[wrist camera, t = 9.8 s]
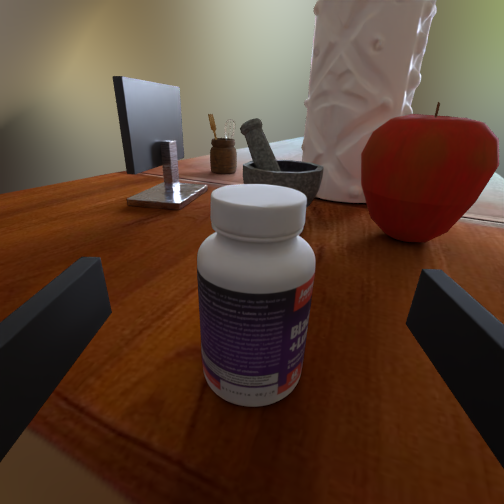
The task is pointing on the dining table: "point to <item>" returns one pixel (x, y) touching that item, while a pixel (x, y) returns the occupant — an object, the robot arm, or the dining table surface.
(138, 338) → the dining table surface
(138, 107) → the monitor screen
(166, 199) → the monitor stand
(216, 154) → the utensil holder
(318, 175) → the mortar and pestle
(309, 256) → the pill bottle
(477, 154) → the apple
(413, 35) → the vase
